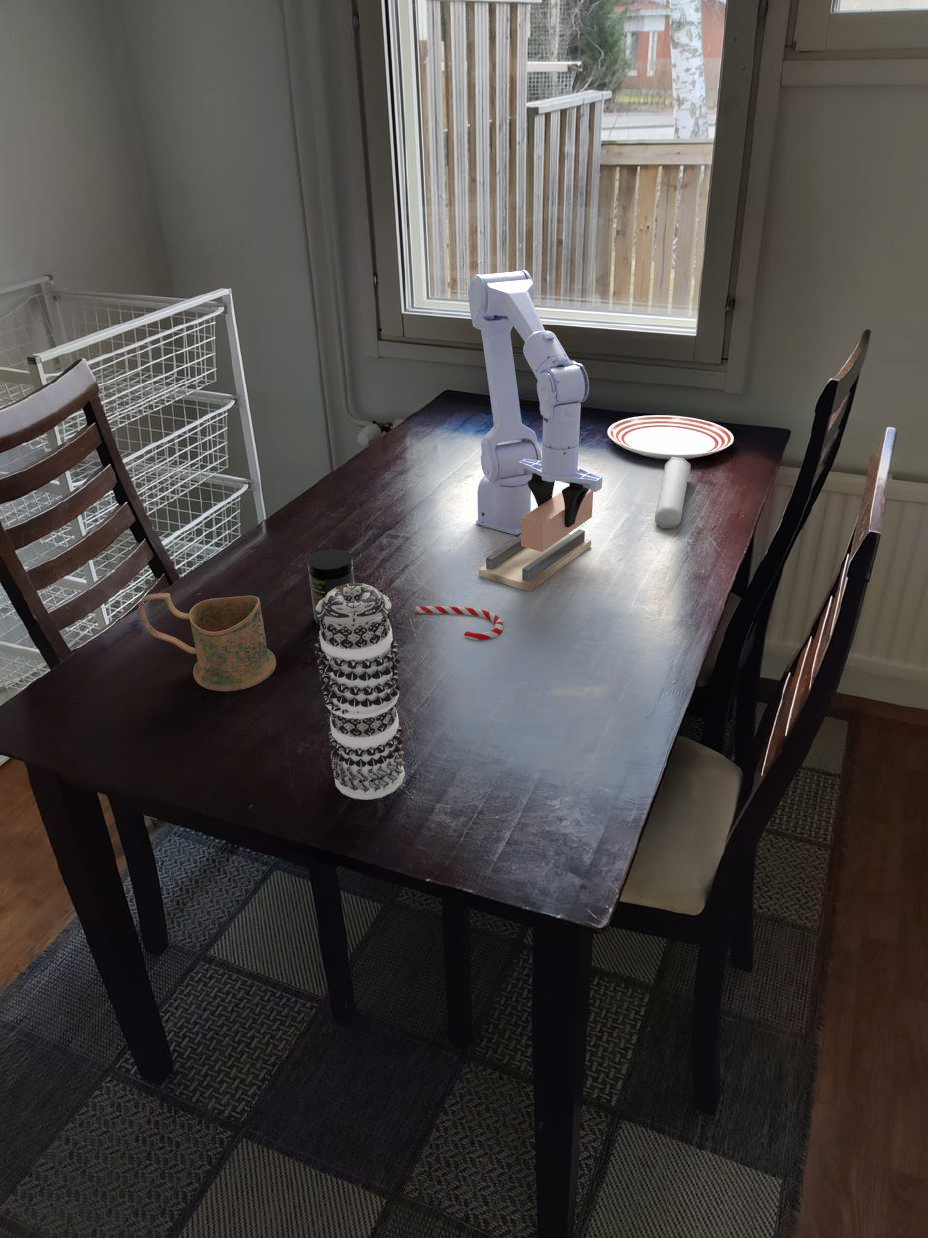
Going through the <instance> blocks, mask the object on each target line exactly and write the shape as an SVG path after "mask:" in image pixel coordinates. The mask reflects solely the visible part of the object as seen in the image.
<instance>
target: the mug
mask: <svg viewBox="0 0 928 1238" xmlns="http://www.w3.org/2000/svg"><path fill="white" fill-rule="evenodd" d="M151 600H152V601H153V600H165V601H166V605H167V607H168V609H169V611H170V612H171V613H172V615H174V616H175V617H177V618H179V619H183V620H189V622H190V627H191V633H192V638H193V642H194V646H195V647H192V646H190V645H188V644H187V643H185V642H184V641H182V640H181V639H178V638H177V637H174V636H173V635H169V634H166V633H163V632H160V631H157V630H156V629H155V628H154V627H153V626H152V625H151V624H150V621H148V618H147V616H146V613H145V607H144V603H145V602H147V601H151ZM261 605H262V604H261V601H260V598H259V597H257V596H255V595H242V596H232V597H231V596H230V597H216V598H215V597H214V598H209V599H205V600H201V601H199V602H198V603H196V604H194V605H193V607H191V609H190V610H189V613H186V612H182V611H180V610H179V609H177V608H176V607H175V605H174V603H173V600H172V597H171V593H168V592H160V593H151V594H147V595H145V596H143V597H142V598H141V600H140V602H139V603H138V614H139V617H140V620H141V622H142V625H143V627H144V628H145V630H146V631H147V632H148V633H149V634H150V635H151V636H152V637H155V638H156V639H159V640H162V641H165V642H168V643H172V644H173V645H175V646H176V647H178V648H179V649H181V650H183V651H185V652H186V653H187V654H192V655H196V657H197V658H196V659H197V661H196V663H195V664H194V665H193V669H192V675H193V678H194V680H195V682H196V683H197V684H198V685H199V686H201V687H203V688H205V689H208V690H212V691H216V692H232V691H233V692H236V691H240V690H245V689H248V688H251V687H253V686H254V687H255V685H258V684H260V683H262V682H263V681H265V680H267V679H268V678H269V677H270V676H271V675H273V672H274V671H275V670H276V667H277V660H276V656H275V654H274V652H272V651H271V650H270V649H269V648H268V647H267V637H266V633H265V628H264V626H265V624H264V619H263V615H262V607H261Z"/></svg>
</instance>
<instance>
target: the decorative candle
mask: <svg viewBox="0 0 928 1238" xmlns="http://www.w3.org/2000/svg"><path fill="white" fill-rule="evenodd" d="M392 605H393V604H392V602H391V599H390V598H389V597H388V596H387V595H385V594H384V593H383V592H380V590H378V589H377V588H375V587H374V586H372V585H369V584H367V583H360V582H359V583H358V582H354V583H351V584H344V585H341V586H338V587H336V588H334V589H332V590H331V591H329V592H328V594H327V595H326V597H325V598H323V599H322V600H320V601H319V603H318V604H317V606H316V608H315V609H316V615H317V616H318V617H319V620H320V625H319V626H320V627H319V628H320V630H319V631H318V633H319V636H318V639H319V640H318V641H316V642H314V646H315V647H316V649H315V651H314V655H315V656H316V657H317V659H316V663H317V664H318V672H319V673H320V677H319V681H320V683H322V684H321V686H320V687H321V690H322V691H323V692H322V697H323V698H324V704H325V706H326V707H327V708H328V710H330V717H329V724H330V730H329V731H328V734H327V735H328V737H329V747H330V749H331V750H330V759H331V767H332V768H331V769H332V771H333V778H334V783H335V787H336V788H337V789H338V791H340V793H341V794H343V795H345V796H347V797H349V798H352V799H354V800H366V801H368V800H374V799H381V798H383V797H386V796H388V795H390V794H392V793H394V792H395V791H396V790H397V789H398V788H399V787H400V786H401V785H402V784H403V782H404V778H405V775H406V773H405V772H406V771H405V769H404V766H405V765H406V763H405V761H403V757H404V755H405V752H404V751H403V750H402V748H403V743H404V739H403V738H402V733H403V728H402V727H401V721H400V720H399V715H398V711H397V701H398V699H399V696H400V691H399V690H401V686H400V684H399V678H400V672H399V671H398V667H399V664H400V663H401V661H400V658H399V657H398V654H399V650H400V646H399V644H397V642H396V640H395V639H393V630H392V629H393V628H392V626H391V623H390V613H389V612H390V610H391V608H392V607H393V606H392ZM323 652H324V653H323Z"/></svg>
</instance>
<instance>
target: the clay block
mask: <svg viewBox="0 0 928 1238" xmlns="http://www.w3.org/2000/svg"><path fill="white" fill-rule="evenodd" d="M593 502H594V492H593V491H591V490H590V489H589V490H588V492H587V494H586V495H585V497H584V499H583V501H582V503H581V505H580V507H579V510H578V513H577V516H576V520H575V524H573V525H572V526H570V527H569V528H568V527H565V520H564V518H565V505H564V499H563V495H562V491H560V493H558V494H556V495H555V496H554V495H553V496H552V498H551V499H550V500H548V501H547V502H545V503H544V504H542V505H540V506H539V507H538V506H537V507H536V508H534V509H533V510H531V512H529V513H528V514H526V515H525V516H523V517H522V518H521V533H520V535H521V546H523V547H526V548H530V549H533V550H536V551H540V552H543V551H545V550H546V549H547V548H549V547H550V546H552V545H553V544H554V543H556V542H557V541H559V540H560V539H562V538H563V537H564V536H566V535H567V534H571V532H573V531H575V529H576V530H577V528H579V527H580V526H581V525H583V524H585V523H586V522H587V521H588V520H589V519H591V518H592V517H593V506H594V505H593V504H594V503H593Z"/></svg>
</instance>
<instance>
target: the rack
mask: <svg viewBox="0 0 928 1238" xmlns="http://www.w3.org/2000/svg"><path fill="white" fill-rule="evenodd" d="M585 537H586V531H585V530H583V529H580V528H579V529H576V530H575V531H574V532H573V533H569V534H567V535H566V536H564V537H563V538H562V539H560V540H559V541H557V542H556V543H554V544H553V545H552V546H550V547H549V548H547V549H546V550H545V551H543V552H540V551H536V550H533V549H530V548H526V547H523V546H521V534H519V535H517V537H515V538H514V539H512V540H511V541H509V542H507V543H506V544H505V545H503V546H501V547H500V548H498V549H497V550H496V551H494V552H492V553H490V554H489V555H488V556H486V557H485V564H484V565H483V566H481V567H480V568H479V569H478V576H480V577H482V578H484V579H487V580H492V581H495V582H497V583H500V584H504V585H506V586H510V587H513V588H515V589H519V590H522V591H526V592H531V591H533V589H536V587H538V586H540V584H542V583H544V581H546V580H547V579H549V578H550V577H551V576H553V575H554V574H556V573H557V572H558V571H559V570H561V569H562V568H563V566H564V565H565V566H567V565H568V564H569V563H571V562H573V560H574V559H576V558H577V557H579V556H580V555H581V554H583V553H584V552H585V551H587V550H588V549H589V548H591V547H592V540H591V539H589V538H585ZM590 546H591V547H590ZM568 562H569V563H568ZM567 563H568V564H567ZM565 566H564V567H565Z"/></svg>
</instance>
